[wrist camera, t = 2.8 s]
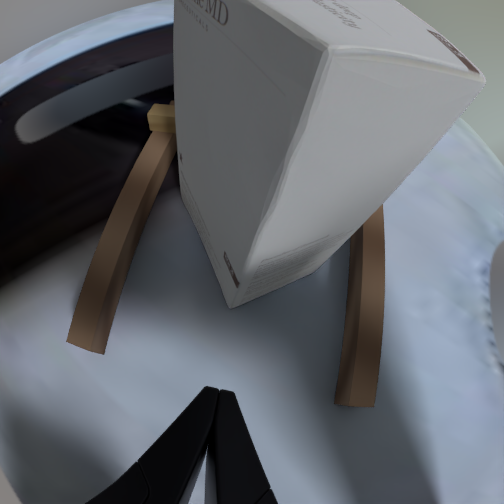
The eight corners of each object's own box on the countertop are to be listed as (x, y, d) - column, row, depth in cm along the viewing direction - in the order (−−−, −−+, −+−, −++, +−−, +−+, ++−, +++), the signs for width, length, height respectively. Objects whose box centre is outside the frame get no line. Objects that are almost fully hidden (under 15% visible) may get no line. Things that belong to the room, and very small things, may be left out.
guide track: (361, 405, 14) (393, 408, 11) (78, 344, 14) (48, 335, 11) (369, 163, 22) (387, 134, 19) (170, 118, 21) (167, 84, 18)
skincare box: (180, 198, 19) (158, -45, 5) (263, 171, 20) (313, -43, 7) (233, 318, 16) (313, 26, 2) (324, 276, 17) (499, 68, 4)
